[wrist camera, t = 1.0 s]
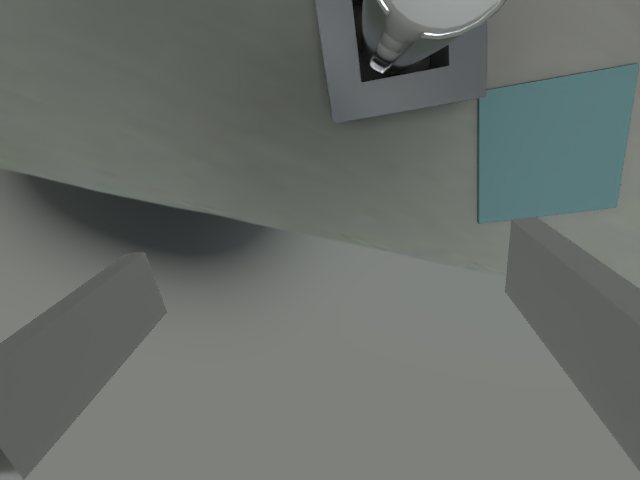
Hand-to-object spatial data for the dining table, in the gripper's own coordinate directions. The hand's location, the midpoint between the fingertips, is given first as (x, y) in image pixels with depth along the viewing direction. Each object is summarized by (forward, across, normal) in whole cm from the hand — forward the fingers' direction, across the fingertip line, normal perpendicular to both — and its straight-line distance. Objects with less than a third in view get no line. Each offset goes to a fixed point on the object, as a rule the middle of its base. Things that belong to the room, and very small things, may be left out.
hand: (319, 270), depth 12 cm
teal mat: (+30, +23, -3) cm, 38 cm away
